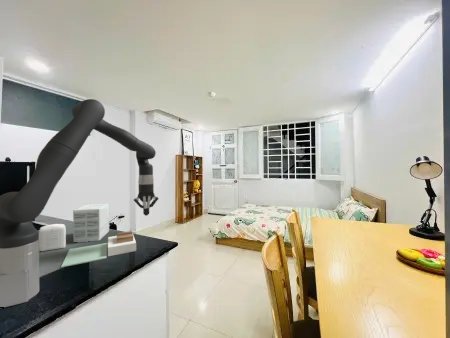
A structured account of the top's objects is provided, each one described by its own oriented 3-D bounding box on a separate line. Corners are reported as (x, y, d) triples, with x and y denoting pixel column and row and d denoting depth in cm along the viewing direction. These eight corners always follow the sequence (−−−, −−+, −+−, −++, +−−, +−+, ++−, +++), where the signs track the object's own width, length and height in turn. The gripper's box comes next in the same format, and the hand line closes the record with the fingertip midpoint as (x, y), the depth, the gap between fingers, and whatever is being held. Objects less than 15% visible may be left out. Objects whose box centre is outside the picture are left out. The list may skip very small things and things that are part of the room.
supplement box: (86, 232, 124) (85, 204, 124) (109, 231, 127) (109, 203, 127) (72, 243, 107) (72, 210, 107) (99, 240, 111) (99, 208, 111)
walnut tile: (133, 240, 100) (133, 235, 100) (117, 243, 96) (117, 238, 96) (131, 235, 108) (131, 230, 108) (116, 237, 104) (116, 233, 104)
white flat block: (136, 250, 97) (136, 242, 97) (107, 256, 91) (107, 247, 91) (132, 240, 111) (132, 233, 111) (108, 244, 105) (108, 237, 105)
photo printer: (66, 245, 105) (66, 221, 104) (65, 248, 101) (65, 223, 101) (40, 249, 99) (39, 225, 99) (38, 252, 95) (37, 227, 95)
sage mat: (106, 258, 89) (106, 257, 89) (61, 267, 81) (61, 266, 81) (107, 243, 107) (107, 242, 107) (69, 249, 98) (69, 249, 98)
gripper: (133, 184, 100) (133, 218, 101) (160, 183, 107) (160, 215, 107) (131, 183, 107) (132, 215, 107) (157, 182, 113) (157, 212, 114)
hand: (146, 215), depth 107 cm, fingers closed
